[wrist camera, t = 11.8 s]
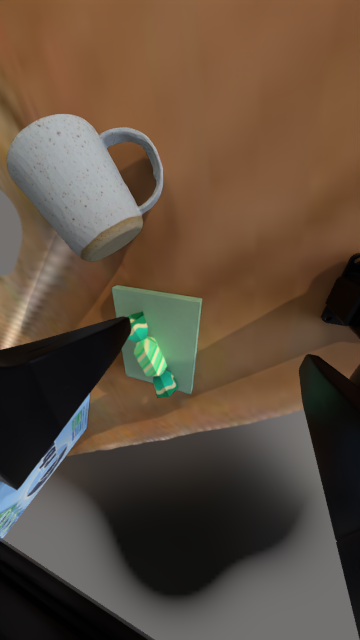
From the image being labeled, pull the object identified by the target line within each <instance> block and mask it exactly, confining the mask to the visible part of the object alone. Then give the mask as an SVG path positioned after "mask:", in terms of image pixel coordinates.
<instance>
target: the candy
mask: <svg viewBox="0 0 360 640" xmlns="http://www.w3.org/2000/svg"><path fill="white" fill-rule="evenodd" d="M128 317H129V318H130V322H131V334H130V336H129V337H128V339H130V340H132V341H134V342H136V343H135V346H134V355H135V357H136V358H137V360H138V362H139V364H140V366H141V367H142V369H143V371H144V373H145V375H146V376H153V384H154V387H155V391H156V395H157V398H160V397H169V396H170V395H171V394H172V393H173V392H174V391H175V390H176V389H177V388H178V387H179V386H178V383H177V381H176V379H175V377H174V376H173V375H172V373H171V372H169V371H167V370H165V369H166V367H167V364H166V361H165V358H164V356H163V354H162V352H161V350H160V348H159V346H158V344H157V342H156V340H155V338H154V337H148V336H147V331H148V326H147V323H146V320H145V317H144V313H143V311H142V312H139V313H135V314H132V315H130V316H128Z"/></svg>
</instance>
